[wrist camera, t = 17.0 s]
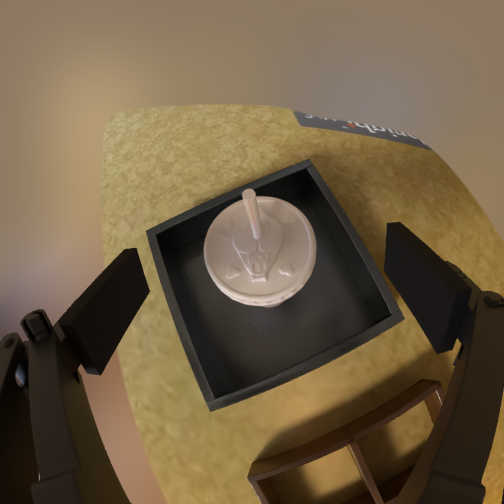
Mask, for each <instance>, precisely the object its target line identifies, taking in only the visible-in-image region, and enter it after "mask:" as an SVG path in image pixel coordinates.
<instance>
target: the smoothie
mask: <svg viewBox="0 0 504 504" xmlns="http://www.w3.org/2000/svg"><path fill="white" fill-rule="evenodd" d="M242 197H243V200H240V201H238V202H236V203H233V204H232V205H230V206H228V207H227V208H226V209H224V210H223V211H222V212H221V213H220V214H219V215H218V216H217V217H216V218H215V220H214V221H213V223H212V224H211V226H210V228H209V230H208V232H207V235H206V238H205V243H204V259H205V264H206V267H207V270H208V272H209V274H210V276H211V277H212V280H213V281H214V282H215V284H216V285H217V286H218V288H219V289H220V290H221V291H222V292H223V293H225V294H226V295H227V296H229V297H230V298H231V299H233V300H236V301H238V302H241V303H243V304H246V305H255V306H263V307H276V306H278V305H280V304H282V303H283V302H284V301H285V300H286V299H288V298H290V297H292V296H293V295H294V294H295V293H296V292H298V291H299V290H300V289H301V288H302V287H303V286H304V285H305V283H306V282H307V280H308V279H309V277H310V276H311V274H312V271H313V268H314V265H315V262H316V239H315V234H314V231H313V228H312V226H311V224H310V222H309V221H308V219H307V218H306V217H305V215H304V214H303V213H302V212H301V211H300V210H299V209H297V208H296V207H295V206H293V205H292V204H290V203H288V202H286V201H284V200H281V199H278V198H274V197H266V196H258V197H256V195H255V192H254V190H252V189H246V190H245V191H244V192H243V193H242Z"/></svg>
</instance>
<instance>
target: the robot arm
mask: <svg viewBox="0 0 504 504" xmlns="http://www.w3.org/2000/svg"><path fill="white" fill-rule="evenodd" d="M384 272H385V273H386V275H387V276H388V278H389V279H390V281H391V282H392V284H393V285H394V286H395V288H396V289H397V291H398V292H399V294H400V295H401V297H402V298H403V300H404V301H405V303H406V304H407V306H408V308H409V309H410V311H411V312H412V314H413V315H414V317H415V318H416V320H417V322H418V323H419V325H420V327H421V328H422V330H423V331H424V333H425V335H426V336H427V338H428V340H429V341H430V343H431V345H432V346H433V348H434V350H435V352H436V353H437V354H439V353H443V352H447V351H450V350H453V347H454V345H455V342H456V339H457V338H458V339H459V341H460V342H461V347H460V349H459V352H458V354H457V357H456V359H455V361H454V363H453V365H455V367H454V370H453V374H452V377H451V380H450V383H449V386H448V389H447V392H446V395H445V398H444V401H443V404H442V406H441V409H440V412H439V414H438V417H437V419H436V422H435V424H434V427H433V429H432V431H431V434H430V436H429V438H428V441H427V443H426V445H425V447H424V449H423V451H422V453H421V455H420V457H419V459H418V461H417V463H416V465H415V467H414V469H413V471H412V473H411V475H410V476H409V478H408V480H407V482H406V483H405V485H404V487H403V489H402V490H401V492H400V494H399V495H398V497H397V498H396V500H395V501H394V503H393V504H482V503H483V500H484V496H485V493H486V491H485V486H483V485H482V484H481V480H482V476H483V473H484V470H485V467H486V464H487V461H488V458H489V454H490V451H491V447H492V443H493V439H494V435H495V431H496V427H497V422H498V417H499V412H500V407H501V401H502V395H503V387H504V298H503V297H502V296H501V295H499V294H498V293H495V292H492V291H482V290H481V289H480V288H479V287H478V286H477V285H476V284H475V283H474V282H473V281H472V280H471V279H470V278H467V276H466V275H465V274H464V273H462V271H461V270H460V269H459V268H458V267H457V266H456V265H454V264H452V263H450V262H448V261H444V260H443V259H441V258H440V257H439V256H438V255H437V254H436V253H435V252H434V251H433V250H432V249H431V248H429V247H428V246H427V245H426V244H425V243H424V242H423V241H422V240H420V239H419V238H418V237H417V236H416V235H415V234H414V233H412V232H411V231H410V230H409V229H408V228H407V227H405V226H404V225H403V224H402V223H401V222H393V223H387V234H386V250H385V262H384ZM149 292H150V290H149V287H148V284H147V281H146V278H145V275H144V271H143V268H142V265H141V262H140V258H139V255H138V251H137V248H130V249H124V250H123V251H122V252H121V253H120V254H119V255H118V256H117V257H116V258H115V259H114V260H113V262H112V263H111V264H110V265H109V266H108V267H107V268H106V269H105V270H104V271H103V272H102V273H101V274H100V275H99V276H98V277H97V278H96V279H95V280H94V281H93V283H92V284H91V285H90V286H89V287H88V288H87V289H86V290H85V291H84V292H83V294H82V295H81V296H80V297H79V298H78V299H76V300H75V301H74V303H73V304H72V305H71V307H69V308H68V309H67V311H66V312H65V313H64V314H63V315H62V317H61V318H60V319H59V320H58V321H57V322H56V323H55V325H54V326H52V324H51V323H50V320H49V319H48V317H47V315H46V313H45V311H44V310H42V309H38V310H35V311H32V312H31V313H29V314H27V315H26V316H25V317H24V318H23V319H22V320H21V323H20V325H21V327H22V328H23V330H24V332H25V334H26V336H27V337H28V339H29V341H24V342H22V340H21V338H20V336H19V335H18V333H11V334H8V335H6V336H4V337H3V339H2V340H1V341H0V504H131V503H130V501H129V499H128V498H127V496H126V494H125V492H124V490H123V488H122V486H121V484H120V482H119V480H118V477H117V476H116V473H115V471H114V469H113V466H112V464H111V462H110V459H109V457H108V455H107V452H106V450H105V447H104V445H103V442H102V440H101V437H100V434H99V431H98V429H97V426H96V423H95V420H94V417H93V414H92V411H91V408H90V405H89V401H88V398H87V395H86V391H85V388H84V384H83V380H82V376H81V374H80V372H79V371H78V367H79V366H80V364H82V366H83V367H84V369H85V371H86V372H87V373H88V374H94V375H101V374H102V372H103V371H104V369H105V367H106V365H107V363H108V362H109V360H110V358H111V356H112V354H113V353H114V351H115V349H116V348H117V346H118V344H119V342H120V341H121V339H122V337H123V335H124V334H125V332H126V330H127V329H128V327H129V325H130V323H131V322H132V320H133V318H134V317H135V315H136V313H137V312H138V310H139V309H140V307H141V305H142V304H143V302H144V300H145V299H146V297H147V296H148V294H149ZM15 375H16V376H17V378H18V379H19V380H20V382H21V385H20V386H19V385H18V384H17V382H16V379H15ZM39 473H40V481H39ZM501 504H504V489H503V497H502V503H501Z"/></svg>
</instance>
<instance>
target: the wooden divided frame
mask: <svg viewBox="0 0 504 504" xmlns="http://www.w3.org/2000/svg"><path fill="white" fill-rule="evenodd" d="M444 398H445V394H444V391H443V389H442V386H441V383H440V381H434V380H425V379H421V380H420V381H419V382H417V383H416V384H414V385H413V386H411V387H410V388H408V389H407V390H405V391H404V392H402V393H401V394H399V395H397V396H396V397H394V398H393V399H391V400H389V401H388V402H386V403H385V404H383V405H381V406H379V407H378V408H376V409H374V410H373V411H371V412H369V413H367V414H365V415H364V416H362V417H360V418H358V419H356V420H354V421H352V422H350V423H349V424H347V425H345V426H343V427H341V428H339V429H336V430H334V431H332V432H330V433H328V434H326V435H324V436H322V437H319V438H317V439H315V440H313V441H310V442H308V443H306V444H303V445H301V446H298V447H296V448H293V449H291V450H288V451H286V452H283V453H280V454H277V455H275V456H272V457H269V458H266V459H263V460H260V461H257V462H254V463H252V465H251V468H250V470H249V473H248V476H247V479H248V481H249V483H250V484H251V486H252V488H253V490H254V491H255V493H256V495H257V497H258V498H259V500H260V502H261V503H262V504H281V502H280V500H279V498H278V497H277V495H276V493H275V491H274V490H273V488H272V486H271V484H270V482H269V481H268V479H267V478H268V477H271V476H274V475H277V474H280V473H283V472H286V471H288V470H291V469H294V468H296V467H299V466H302V465H304V464H307V463H309V462H312V461H314V460H316V459H319V458H321V457H323V456H326V455H328V454H330V453H332V452H334V451H337V450H339V449H341V448H343V447H345V446H347V447H348V449H349V452H350V454H351V456H352V458H353V460H354V462H355V464H356V467H357V469H358V471H359V473H360V475H361V477H362V479H363V482H364V484H365V486H366V488H367V490H368V492H366V493H364V494H362V495H360V496H358V497H356V498H354V499H352V500H349V501H347V502H345V503H342V504H393V503H394V501H395V500H396V498H397V497H398V495H399V494H400V492H401V490H402V489H403V487H404V485H405V483H406V482H407V480H408V478H409V476H410V475H411V473H412V471H413V469H414V467H415V465H414V466H412V467H411V468H409V469H408V470H406V471H404V472H403V473H401V474H399V475H398V476H396V477H394V478H393V479H391V480H389V481H387V482H385V483H384V484H382V485H380V486H378V487H377V486H376V484H375V482H374V479H373V477H372V475H371V473H370V470H369V468H368V466H367V464H366V462H365V459H364V457H363V455H362V453H361V451H360V448H359V446H358V444H357V442H356V441H357V440H359V439H361V438H362V437H364V436H366V435H368V434H370V433H372V432H373V431H375V430H377V429H379V428H380V427H382V426H384V425H386V424H387V423H389V422H391V421H392V420H394V419H395V418H397V417H399V416H400V415H402V414H403V413H405V412H406V411H408V410H410V409H411V408H413V407H414V406H415V405H417V404H418V403H420V402H421V401H423V400H425V403H426V406H427V408H428V411H429V413H430V416H431V419H432V422H433V424H435V422H436V419H437V417H438V414H439V412H440V409H441V406H442V404H443V401H444Z"/></svg>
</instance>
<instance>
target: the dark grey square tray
mask: <svg viewBox="0 0 504 504" xmlns="http://www.w3.org/2000/svg"><path fill="white" fill-rule="evenodd" d="M246 189H252V190H254V192H255V195H256V197H258V196H266V197H274V198H278V199H281V200H284V201H286V202H288V203H290V204H292V205H293V206H295V207H296V208H297V209H299V210H300V211H301V212H302V213H303V214H304V215H305V217H306V218H307V219H308V221H309V222H310V224H311V226H312V228H313V231H314V234H315V239H316V262H315V265H314V268H313V271H312V274H311V276H310V277H309V279H308V280H307V282H306V283H305V285H304V286H303V287H302V288H301V289H300V290H299V291H298V292H296V293H295V294H294V295H293V296H292V297H290V298H288V299H286V300H285V301H284V302H283V303H282V304H280V305H278V306H276V307H263V306H255V305H246V304H243V303H241V302H238V301H236V300H233V299H231V298H230V297H229V296H227V295H226V294H225V293H223V292H222V291H221V290H220V289H219V288H218V286H217V285H216V284H215V282H214V281H213V280H212V277H211V276H210V274H209V272H208V270H207V267H206V264H205V259H204V243H205V238H206V235H207V232H208V230H209V228H210V226H211V224H212V223H213V221H214V220H215V218H216V217H217V216H218V215H219V214H220V213H221V212H222V211H223V210H224V209H226V208H227V207H228V206H230V205H232V204H233V203H236V202H238V201H240V200H243V197H242V193H243V192H244V191H245V190H246ZM146 234H147V237H148V241H149V245H150V248H151V252H152V255H153V259H154V262H155V266H156V269H157V272H158V275H159V279H160V282H161V285H162V288H163V291H164V294H165V297H166V300H167V303H168V306H169V309H170V312H171V315H172V318H173V321H174V323H175V326H176V329H177V332H178V335H179V337H180V340H181V343H182V345H183V348H184V350H185V353H186V356H187V358H188V361H189V363H190V366H191V368H192V371H193V373H194V376H195V378H196V380H197V383H198V385H199V388H200V390H201V392H202V395H203V397H204V399H205V401H206V404H207V406H208V408H209V410H210V412H211V411H214V410H217V409H220V408H223V407H226V406H229V405H231V404H234V403H237V402H240V401H242V400H245V399H248V398H250V397H253V396H255V395H258V394H260V393H263V392H265V391H268V390H270V389H272V388H275V387H277V386H280V385H282V384H284V383H286V382H289V381H291V380H293V379H295V378H298V377H300V376H302V375H304V374H306V373H308V372H310V371H312V370H315V369H317V368H319V367H321V366H323V365H325V364H327V363H329V362H331V361H333V360H335V359H337V358H338V357H340V356H342V355H344V354H346V353H348V352H350V351H352V350H353V349H355V348H357V347H359V346H361V345H362V344H364V343H366V342H368V341H369V340H371V339H373V338H375V337H376V336H378V335H380V334H381V333H383V332H385V331H386V330H388V329H390V328H391V327H393V326H395V325H396V324H398V323H399V322H401V321H403V320H404V319H405V318H404V316H403V314H402V312H401V310H400V309H399V307H398V305H397V303H396V301H395V299H394V297H393V295H392V293H391V291H390V289H389V287H388V285H387V284H386V282H385V280H384V278H383V276H382V274H381V272H380V271H379V269H378V267H377V265H376V263H375V262H374V260H373V258H372V256H371V255H370V253H369V251H368V249H367V248H366V246H365V244H364V243H363V241H362V239H361V238H360V236H359V234H358V233H357V231H356V229H355V228H354V226H353V224H352V223H351V221H350V220H349V218H348V216H347V215H346V213H345V212H344V210H343V208H342V207H341V205H340V204H339V202H338V201H337V199H336V198H335V196H334V194H333V193H332V191H331V190H330V188H329V187H328V185H327V184H326V182H325V181H324V180H323V178H322V177H321V175H320V174H319V172H318V171H317V169H316V168H315V167H314V166H313V164H312V162H311V161H310V159H308V160H305V161H303V162H300V163H297V164H295V165H292V166H290V167H287V168H285V169H282V170H280V171H277V172H275V173H272V174H270V175H267V176H265V177H263V178H260V179H258V180H255V181H253V182H251V183H248V184H246V185H244V186H241V187H239V188H237V189H234V190H232V191H230V192H227V193H225V194H223V195H221V196H218V197H216V198H214V199H212V200H209V201H207V202H205V203H203V204H201V205H199V206H196V207H194V208H192V209H190V210H188V211H186V212H184V213H181V214H179V215H177V216H175V217H173V218H171V219H169V220H167V221H165V222H163V223H161V224H159V225H157V226H155V227H153V228H151V229H149V230H147V231H146Z"/></svg>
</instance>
